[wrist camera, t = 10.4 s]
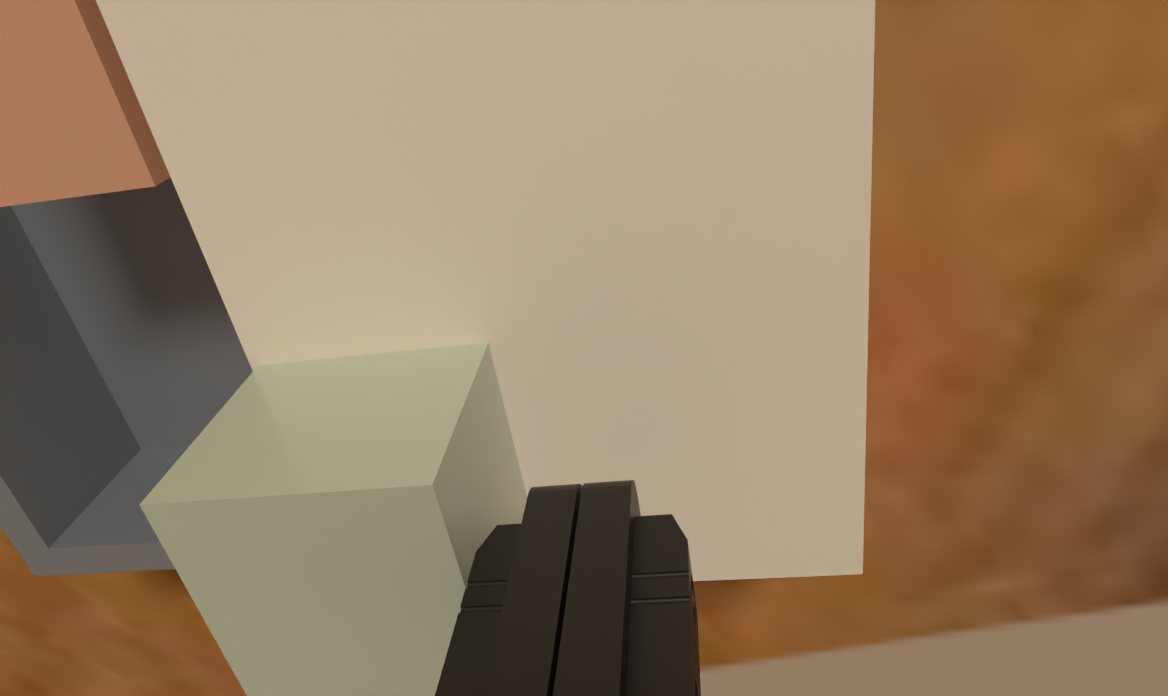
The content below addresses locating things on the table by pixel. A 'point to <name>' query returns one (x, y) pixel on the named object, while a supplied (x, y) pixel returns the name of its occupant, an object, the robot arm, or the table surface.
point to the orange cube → (68, 107)
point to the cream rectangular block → (558, 228)
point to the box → (103, 372)
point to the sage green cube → (342, 517)
